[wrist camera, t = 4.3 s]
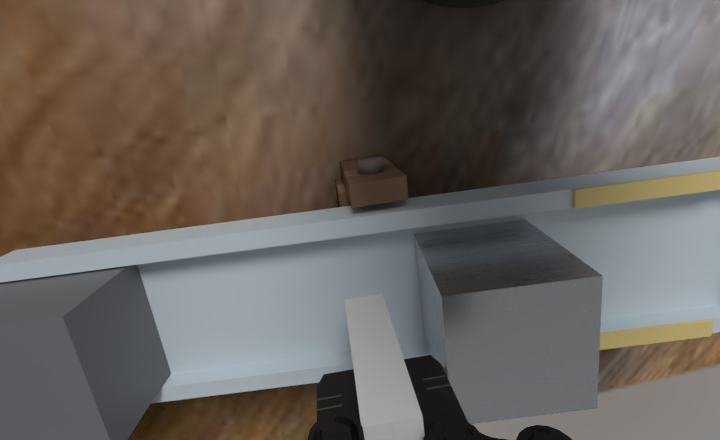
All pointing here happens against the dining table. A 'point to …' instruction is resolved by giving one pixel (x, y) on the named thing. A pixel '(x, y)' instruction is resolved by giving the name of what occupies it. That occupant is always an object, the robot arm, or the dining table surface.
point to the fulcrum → (370, 182)
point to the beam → (320, 292)
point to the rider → (510, 319)
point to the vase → (463, 3)
